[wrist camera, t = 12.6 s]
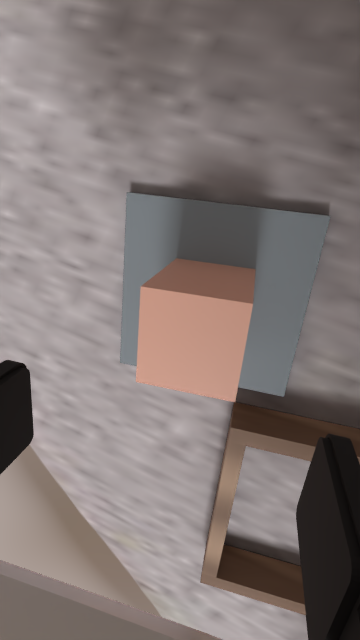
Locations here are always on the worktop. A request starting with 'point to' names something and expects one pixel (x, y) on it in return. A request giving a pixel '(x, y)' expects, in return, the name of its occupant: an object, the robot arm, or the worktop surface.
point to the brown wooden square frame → (222, 560)
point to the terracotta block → (195, 327)
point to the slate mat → (234, 250)
